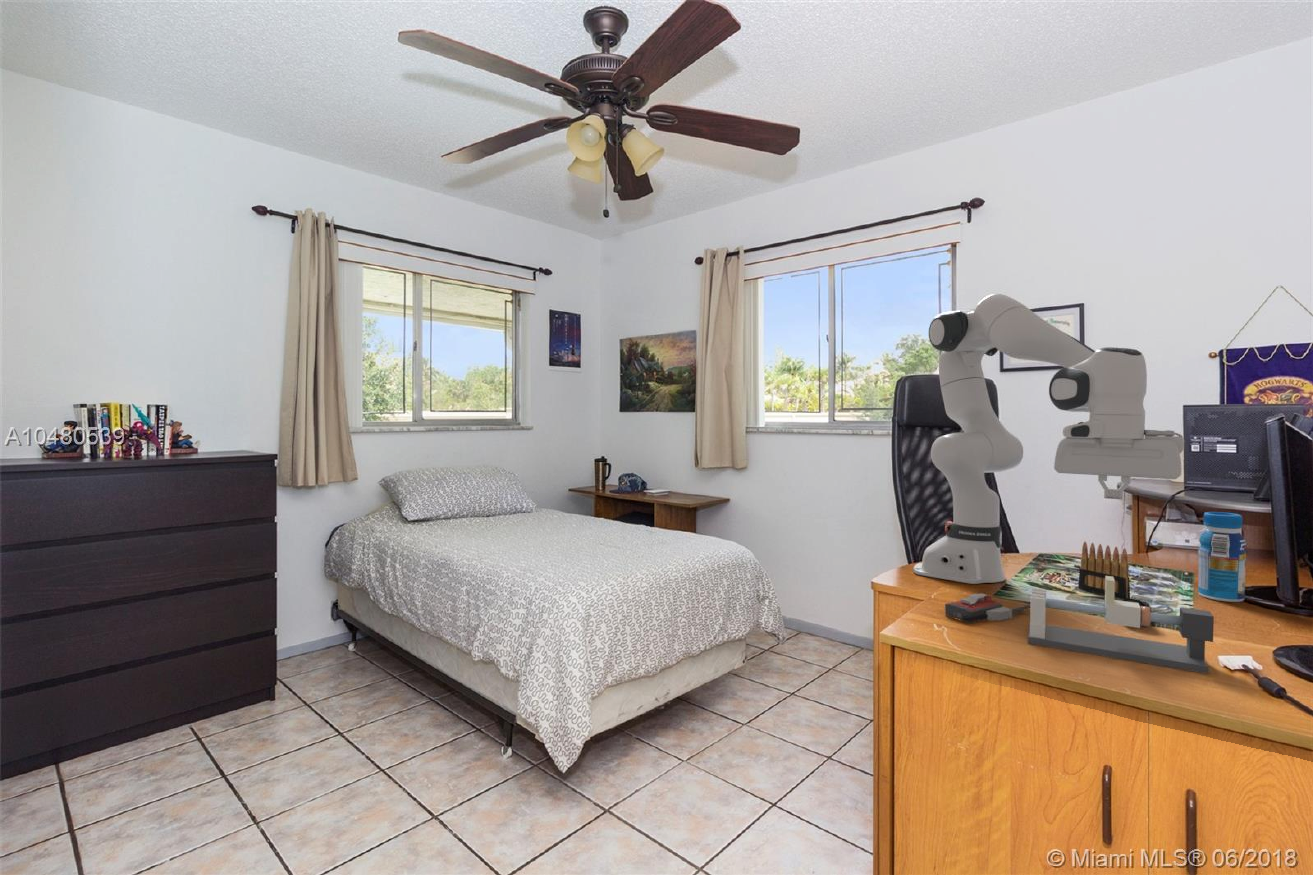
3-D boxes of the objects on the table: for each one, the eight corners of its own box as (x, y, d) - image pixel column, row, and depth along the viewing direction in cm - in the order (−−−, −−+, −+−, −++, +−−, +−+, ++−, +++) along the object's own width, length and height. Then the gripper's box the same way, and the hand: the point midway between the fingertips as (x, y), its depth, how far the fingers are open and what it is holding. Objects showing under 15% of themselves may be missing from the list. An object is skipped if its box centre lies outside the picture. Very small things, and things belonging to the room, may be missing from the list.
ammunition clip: (1078, 588, 154) (1078, 541, 154) (1082, 587, 155) (1083, 540, 155) (1125, 599, 145) (1126, 549, 144) (1130, 598, 145) (1131, 548, 145)
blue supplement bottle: (1187, 592, 150) (1189, 511, 149) (1220, 592, 150) (1222, 510, 149) (1220, 603, 141) (1222, 517, 140) (1255, 602, 141) (1258, 516, 141)
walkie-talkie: (975, 629, 126) (1034, 614, 136) (975, 608, 126) (1035, 594, 135) (938, 617, 134) (996, 603, 143) (938, 597, 134) (997, 584, 143)
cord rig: (1027, 643, 117) (1028, 596, 117) (1030, 628, 126) (1030, 584, 125) (1216, 675, 103) (1217, 622, 102) (1204, 655, 111) (1205, 606, 111)
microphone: (1136, 619, 140) (1119, 629, 127) (1127, 593, 142) (1110, 600, 128) (1166, 616, 137) (1152, 627, 123) (1157, 590, 138) (1141, 597, 125)
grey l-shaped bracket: (1105, 623, 113) (1106, 580, 113) (1104, 617, 116) (1105, 575, 116) (1140, 628, 110) (1141, 584, 110) (1138, 622, 114) (1138, 579, 113)
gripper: (1182, 430, 118) (1178, 501, 119) (1056, 427, 130) (1053, 492, 131) (1187, 431, 113) (1183, 505, 114) (1055, 428, 125) (1052, 496, 125)
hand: (1113, 498), depth 122 cm, fingers closed
